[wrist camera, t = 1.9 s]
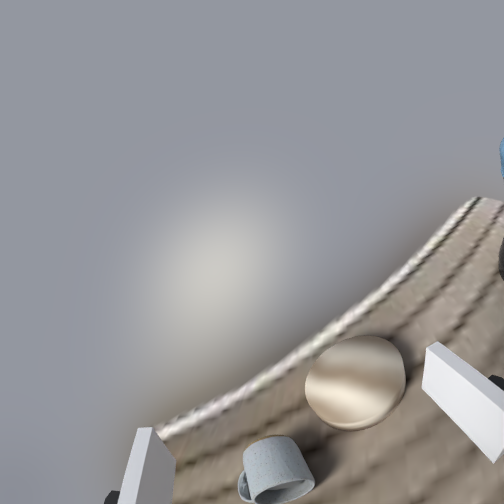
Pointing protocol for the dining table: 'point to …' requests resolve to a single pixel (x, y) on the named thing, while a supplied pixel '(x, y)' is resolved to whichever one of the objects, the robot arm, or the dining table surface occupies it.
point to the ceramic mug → (274, 471)
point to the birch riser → (356, 383)
